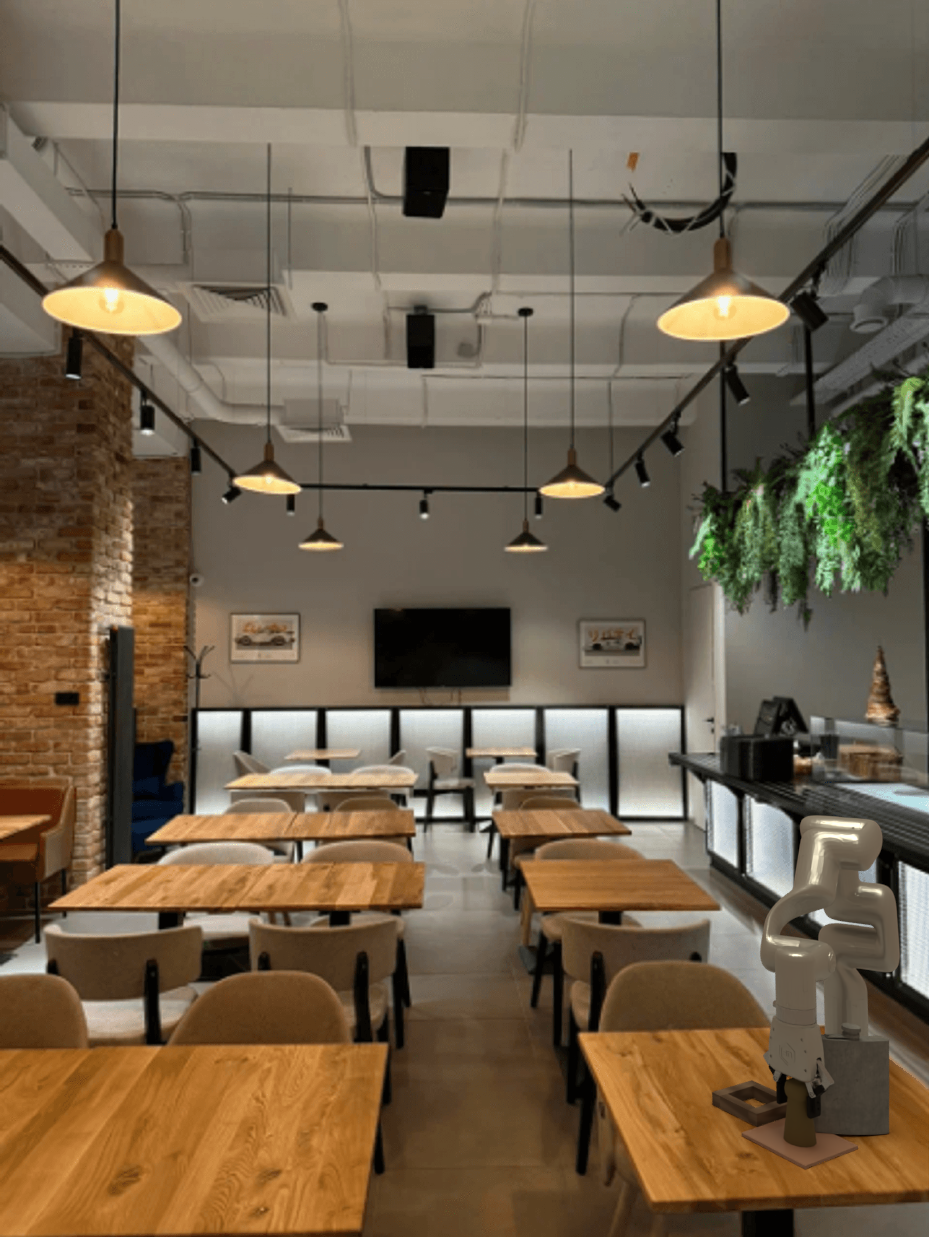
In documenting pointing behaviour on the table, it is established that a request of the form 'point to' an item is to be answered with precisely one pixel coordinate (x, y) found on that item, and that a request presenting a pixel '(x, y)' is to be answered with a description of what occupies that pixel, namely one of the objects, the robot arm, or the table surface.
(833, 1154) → the terracotta tile
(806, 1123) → the olive pawn shape
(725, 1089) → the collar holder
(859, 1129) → the hip flask
